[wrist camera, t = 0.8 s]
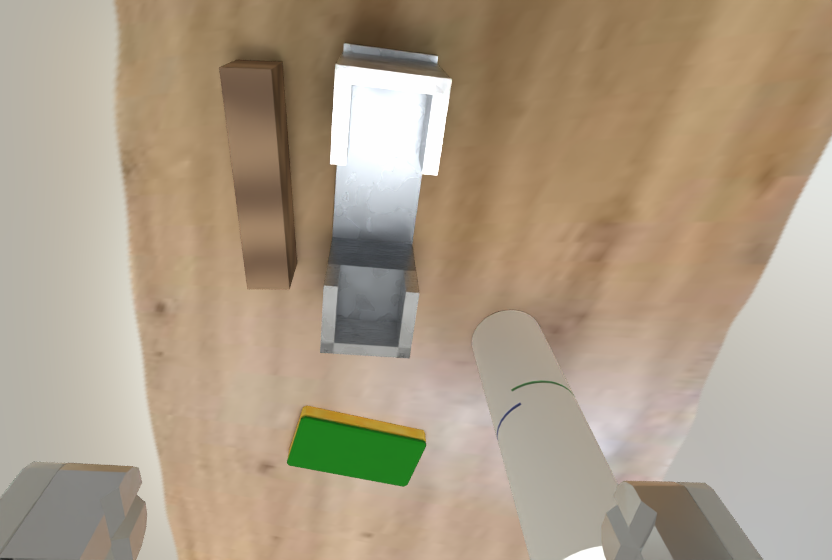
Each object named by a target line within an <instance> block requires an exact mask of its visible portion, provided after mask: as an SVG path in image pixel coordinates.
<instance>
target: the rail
mask: <svg viewBox="0 0 832 560" xmlns="http://www.w3.org/2000/svg"><path fill="white" fill-rule="evenodd" d="M219 70H220V78H221V86H222V94H223V102H224V109H225V117H226V125H227V133H228V141H229V149H230V157H231V165H232V172H233V180H234V188H235V196H236V204H237V212H238V220H239V227H240V235H241V243H242V251H243V259H244V267H245V275H246V282H247V289H290V286H291V282H292V279H293V276H294V272H295V269H296V266H297V255H296V241H295V227H294V214H293V200H292V186H291V172H290V159H289V145H288V131H287V118H286V104H285V90H284V76H283V63H282V62H276V61H251V60H235V61H233V62H230V63H228V64H226V65H224V66H221V67H219Z"/></svg>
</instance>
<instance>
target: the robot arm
mask: <svg viewBox="0 0 832 560" xmlns="http://www.w3.org/2000/svg"><path fill="white" fill-rule="evenodd" d="M141 484H142V480H141V475H140V471H139V468H137V467H133V466H117V465H98V464H81V463H55V462H35V461H34V462H32V463H31V464H29V465H28V466H26V467H25V468H23V469H22V470H21V471H20V473H19V474H18V475H17V477H16V478H15V479H14V480H13V482H12V483H11V484H10V485H9V487H8V488H7V489H6V491H5V492H4V493H3V494H2V496H1V497H0V560H136V558H137V556H138V554H139V551H140V548H141V546H142V542H143V538H144V534H145V530H146V521H147V511H146V503H145V501H143V500H142V499H141V498H140V497H139V496H138V495H137V492H138V490H139V488H140V486H141ZM613 496H614V498H615V500H616V502H617V505H616V506H615V507H613V508H612V509H611V510H609V511H608V512H607V513H606V514H605V517H604V520H603V523H602V525H601V543H602V548H603V552H604V556H605V558H606V560H763V558H762V557H761V556H760V554H759V553H758V552H757V550H756V549H755V547H754V546H753V544H752V543H751V542H750V540H749V539H748V537H747V536H746V535H745V533H744V532H743V530H742V529H741V528H740V526H739V525H738V523H737V522H736V521H735V519H734V518H733V516H732V515H731V514H730V512H729V511H728V510H727V508H726V507H725V505H724V504H723V503H722V501H721V500H720V498H719V497H718V495H717V494H716V493H715V491H714V490H713V489H712V488H711V487H710V486H708V485H707V484H706V483H689V482H677V483H675V482H660V481H623V482H622V483H620V484H619V485H618V486H617V488H616V490H615V493H614V495H613Z"/></svg>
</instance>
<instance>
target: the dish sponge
mask: <svg viewBox="0 0 832 560" xmlns="http://www.w3.org/2000/svg"><path fill="white" fill-rule="evenodd" d="M425 447H426V439H425V432H424V431H423V430H419V429H415V428H410V427H405V426H401V425H396V424H391V423H386V422H382V421H377V420H372V419H368V418H363V417H358V416H353V415H349V414H344V413H339V412H335V411H330V410H325V409H320V408H316V407H311V406H305V407H303V409H302V412H301V415H300V418H299V421H298V424H297V427H296V431H295V434H294V437H293V440H292V443H291V446H290V449H289V454H288V460H287V463H288V465H290V466H295V467H300V468H306V469H311V470H317V471H322V472H327V473H333V474H338V475H344V476H349V477H354V478H360V479H365V480H371V481H376V482H381V483H387V484H392V485H398V486H403V487H404V486H406V485H408V482H409V480H410V478H411V476H412V474H413V472H414V470H415V468H416V466H417V464H418V462H419V460H420V458H421V456H422V453H423V451H424V449H425Z"/></svg>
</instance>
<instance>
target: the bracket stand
mask: <svg viewBox="0 0 832 560" xmlns="http://www.w3.org/2000/svg"><path fill="white" fill-rule="evenodd" d="M437 61H438V56H437V55H431V54H424V53H417V52H409V51H402V50H395V49H387V48H380V47H372V46H365V45H358V44H350V43H344V51H343V53H342V54H341V56H340V58H339V59H338V61H337V63H336V64H335V82H334V101H333V120H332V139H331V158H330V164H335V165H337V171H336V188H335V206H334V223H333V238H332V243H331V249H330V254H329V260H328V265H327V271H326V276H325V282H324V291H323V310H322V329H321V348H320V353H333V354H349V355H365V356H380V357H396V358H410V351H411V344H412V338H413V331H414V325H415V318H416V312H417V305H418V299H419V288H418V281H417V274H416V267H415V260H414V253H413V246H412V242H413V235H414V228H415V220H416V213H417V206H418V199H419V191H420V184H421V177H422V174H429V175H437V174H438V167H439V161H440V154H441V148H442V141H443V135H444V128H445V121H446V115H447V108H448V102H449V95H450V89H451V82H452V79H451V78H450V77H449V76H448V75H447V74H446V73H445V71H444V70H443V69H442V68H441V67H440V66H439V65H438V64H437Z"/></svg>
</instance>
